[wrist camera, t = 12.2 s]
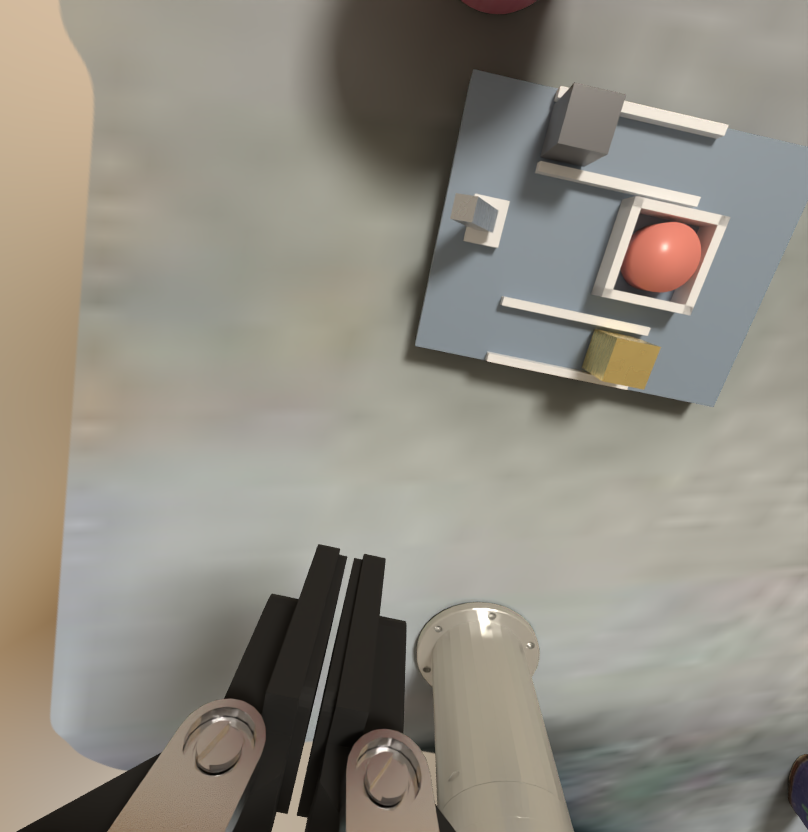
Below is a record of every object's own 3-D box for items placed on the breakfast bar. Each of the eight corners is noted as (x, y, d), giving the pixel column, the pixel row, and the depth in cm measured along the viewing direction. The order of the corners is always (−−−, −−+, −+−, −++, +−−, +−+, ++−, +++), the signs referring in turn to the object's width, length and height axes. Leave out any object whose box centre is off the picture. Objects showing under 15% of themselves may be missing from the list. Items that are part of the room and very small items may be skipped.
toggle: (493, 233, 30) (472, 222, 26) (473, 229, 31) (450, 218, 27) (498, 210, 30) (478, 196, 26) (478, 207, 30) (455, 193, 26)
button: (669, 296, 33) (685, 298, 31) (610, 283, 32) (622, 285, 31) (694, 231, 31) (712, 229, 29) (633, 217, 31) (647, 215, 29)
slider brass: (619, 375, 35) (644, 389, 31) (581, 367, 35) (601, 381, 31) (633, 336, 34) (661, 347, 30) (594, 328, 34) (617, 337, 30)
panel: (694, 397, 38) (730, 415, 34) (415, 340, 37) (415, 351, 33) (799, 159, 32) (857, 144, 28) (469, 83, 31) (477, 55, 27)
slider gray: (583, 167, 30) (607, 154, 26) (540, 157, 30) (557, 143, 26) (598, 115, 29) (626, 94, 25) (553, 105, 29) (574, 82, 25)
